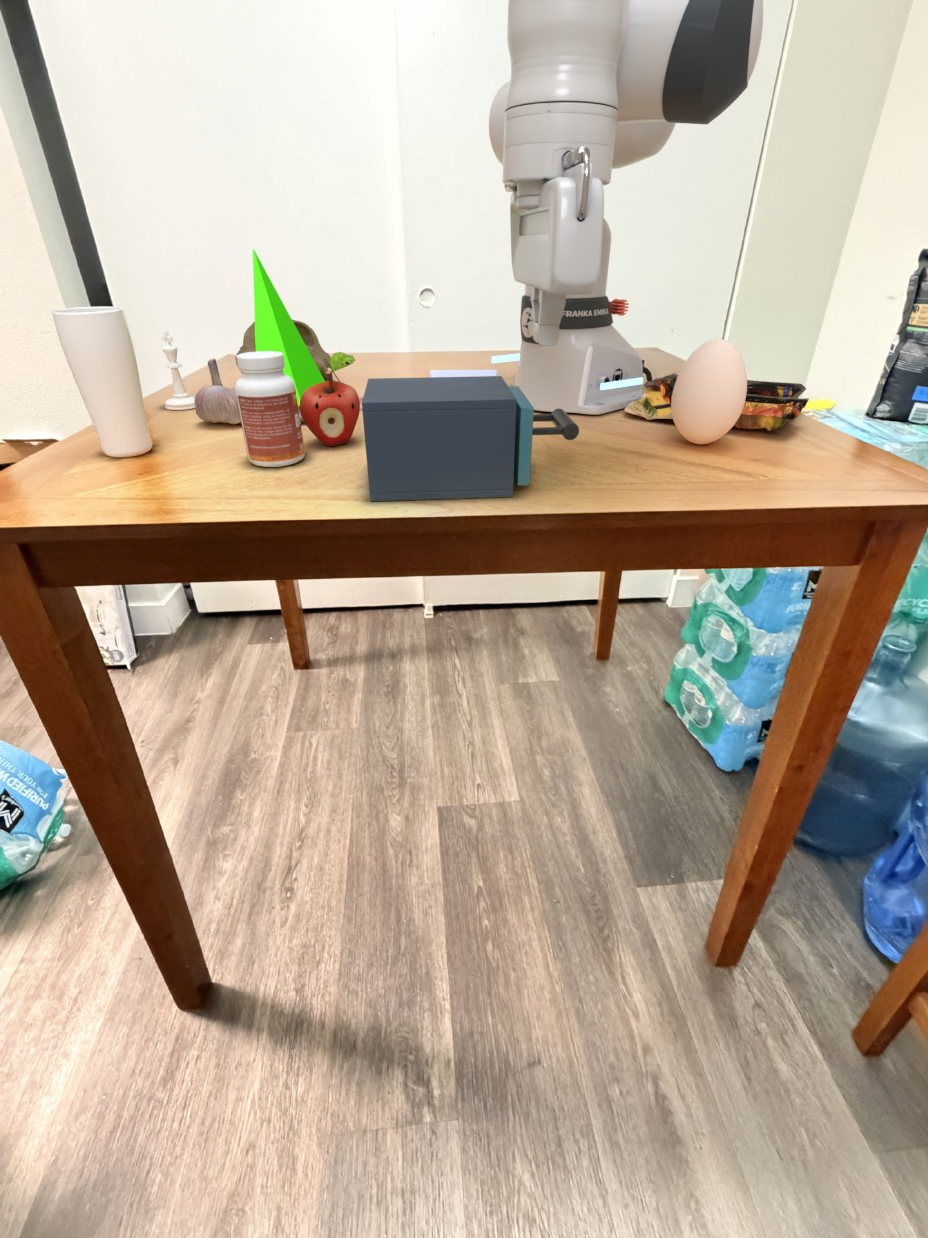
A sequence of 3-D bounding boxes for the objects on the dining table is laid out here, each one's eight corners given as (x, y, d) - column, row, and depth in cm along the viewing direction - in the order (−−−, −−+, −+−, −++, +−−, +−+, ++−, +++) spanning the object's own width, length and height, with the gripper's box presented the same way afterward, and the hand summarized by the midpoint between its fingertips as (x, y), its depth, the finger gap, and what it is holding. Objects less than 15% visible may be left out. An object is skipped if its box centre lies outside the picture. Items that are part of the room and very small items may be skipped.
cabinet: (499, 462, 69) (501, 375, 64) (512, 497, 60) (516, 398, 55) (375, 466, 68) (368, 378, 63) (370, 501, 59) (361, 402, 54)
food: (660, 371, 95) (657, 395, 97) (614, 393, 82) (611, 421, 84) (820, 384, 85) (812, 411, 87) (796, 412, 72) (788, 444, 74)
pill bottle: (314, 462, 69) (299, 355, 63) (259, 472, 66) (239, 361, 61) (294, 448, 74) (278, 347, 68) (241, 457, 71) (221, 352, 65)
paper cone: (208, 265, 86) (257, 436, 84) (209, 236, 81) (260, 418, 79) (290, 265, 90) (337, 427, 89) (295, 238, 85) (345, 410, 84)
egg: (653, 445, 74) (670, 340, 68) (679, 430, 79) (696, 332, 73) (722, 457, 70) (746, 346, 64) (743, 441, 75) (767, 337, 69)
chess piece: (179, 411, 90) (161, 335, 84) (158, 407, 92) (139, 333, 86) (208, 404, 93) (192, 331, 88) (186, 400, 95) (170, 329, 90)
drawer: (558, 454, 68) (564, 384, 64) (579, 483, 60) (586, 406, 57) (400, 459, 67) (396, 388, 63) (399, 489, 59) (394, 410, 55)
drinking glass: (83, 457, 71) (34, 311, 63) (130, 441, 77) (91, 305, 69) (127, 463, 69) (83, 313, 61) (173, 447, 74) (138, 307, 67)
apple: (347, 454, 72) (337, 361, 66) (294, 449, 73) (280, 358, 68) (374, 436, 78) (367, 350, 73) (325, 432, 80) (315, 348, 74)
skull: (317, 383, 91) (287, 283, 88) (221, 415, 99) (189, 325, 95) (370, 381, 106) (346, 296, 103) (284, 410, 114) (259, 331, 110)
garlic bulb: (189, 421, 84) (174, 357, 80) (240, 412, 88) (229, 351, 84) (211, 432, 79) (196, 365, 75) (265, 422, 83) (254, 358, 79)
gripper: (636, 141, 42) (610, 362, 49) (568, 171, 59) (555, 330, 66) (543, 139, 41) (530, 362, 49) (502, 170, 59) (497, 330, 66)
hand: (544, 344), depth 58 cm, fingers closed
